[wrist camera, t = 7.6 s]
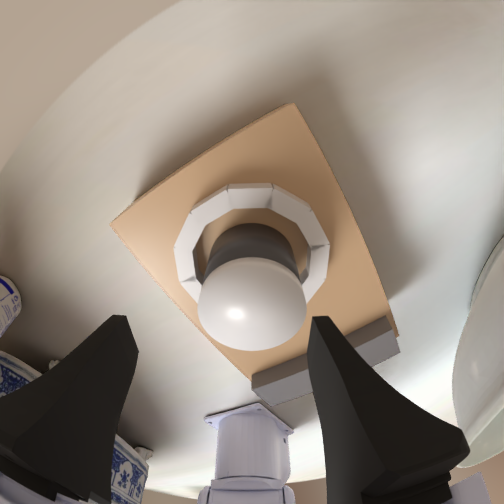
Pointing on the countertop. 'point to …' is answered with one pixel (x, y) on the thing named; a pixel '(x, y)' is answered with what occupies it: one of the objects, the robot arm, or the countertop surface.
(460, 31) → the countertop surface
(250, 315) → the white domed push button
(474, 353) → the bowl
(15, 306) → the white and blue canister
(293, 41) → the countertop surface
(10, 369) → the decorative bowl
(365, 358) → the tan flat ringed block
